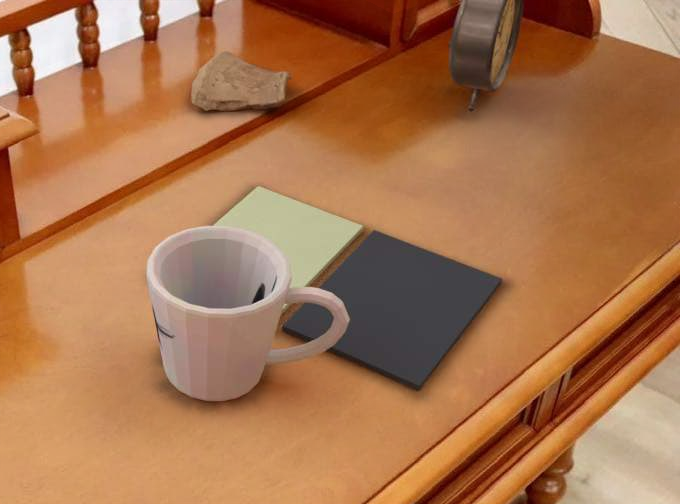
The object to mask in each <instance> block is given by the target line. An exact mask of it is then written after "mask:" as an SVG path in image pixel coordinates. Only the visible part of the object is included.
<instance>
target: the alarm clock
mask: <svg viewBox="0 0 680 504" xmlns="http://www.w3.org/2000/svg"><path fill="white" fill-rule="evenodd" d="M524 7H525V0H461V1H460V3H459V6H458V9H457V13H456V16H455V19H454V23H453V28H452V31H451V32H452V33H451V38H450V41H449V42H448V44H447V45H448V48H449V52H448V53H449V54H448V66H449V67H448V68H449V74H450V78H451V79H452V81H453V83H452V86H455V85H457V86H459V87H462V88H468V89H471V90H472V92H471V95H470V105H469V106H468V108H467V109H468V111H469V112H474V111H475V105H476V103H477V102H478V99H479V95H480V93H481V92H484V91H485V92H486V91H487V92H490V93H494V92H497V90H498V89H500V88H501V85H502V84H503V83H504V80H505V79H506V76H507V74H508V71H509V69H510V67H511V63H512V60H513V57H514V54H515V51H516V48H517V44H518V40H519V36H520V31H521V26H522V20H523V13H524Z"/></svg>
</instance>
